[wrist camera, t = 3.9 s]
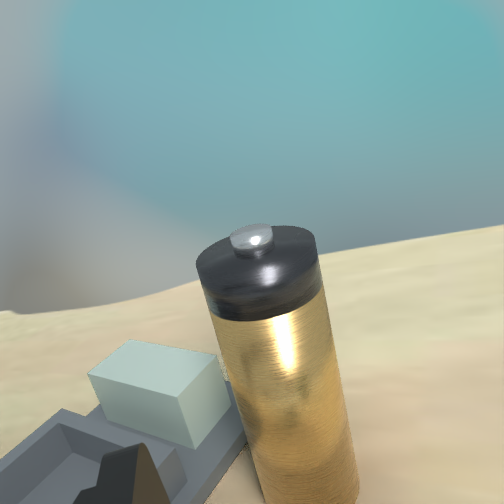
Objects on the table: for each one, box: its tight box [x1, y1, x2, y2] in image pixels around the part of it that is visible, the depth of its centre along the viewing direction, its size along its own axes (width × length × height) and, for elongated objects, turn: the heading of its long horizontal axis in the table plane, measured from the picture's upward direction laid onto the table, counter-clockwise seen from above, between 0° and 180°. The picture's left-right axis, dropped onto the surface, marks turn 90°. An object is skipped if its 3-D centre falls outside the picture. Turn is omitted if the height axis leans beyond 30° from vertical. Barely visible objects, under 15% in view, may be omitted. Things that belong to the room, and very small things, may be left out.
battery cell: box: [196, 224, 359, 504], centre depth 22 cm, size 5×5×15 cm
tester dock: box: [0, 339, 247, 504], centre depth 27 cm, size 18×12×5 cm, turn 149°
